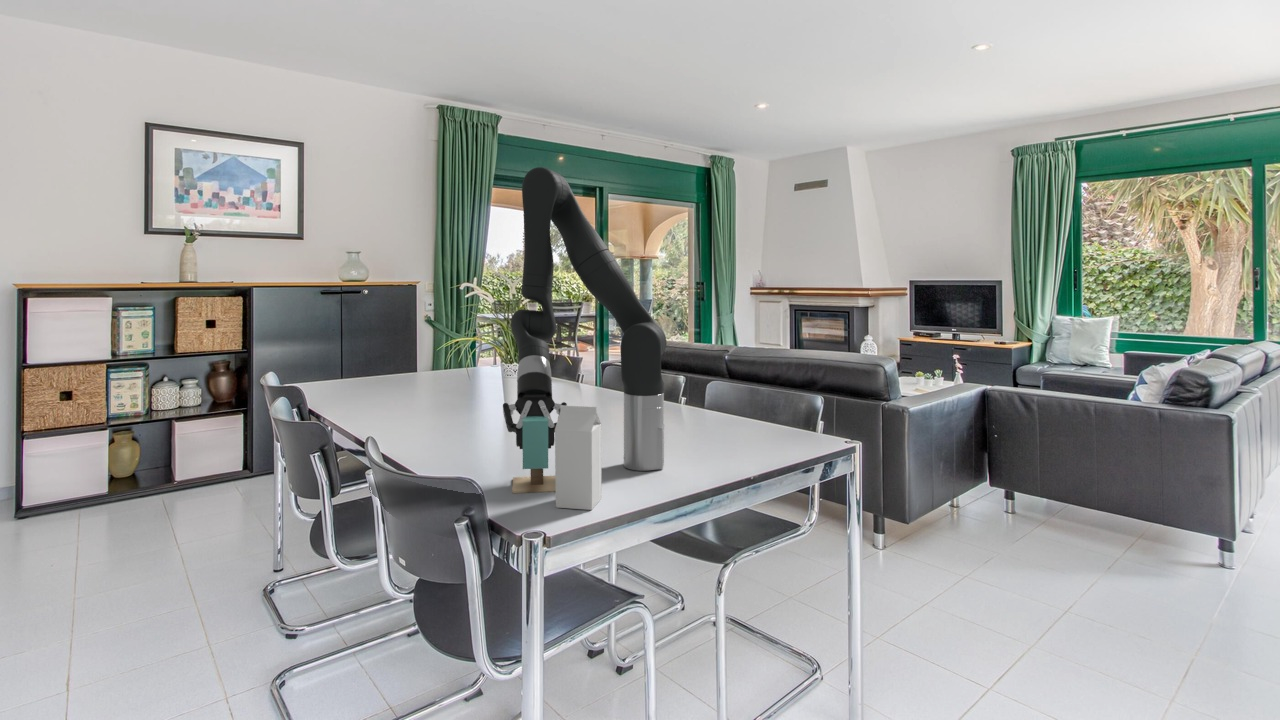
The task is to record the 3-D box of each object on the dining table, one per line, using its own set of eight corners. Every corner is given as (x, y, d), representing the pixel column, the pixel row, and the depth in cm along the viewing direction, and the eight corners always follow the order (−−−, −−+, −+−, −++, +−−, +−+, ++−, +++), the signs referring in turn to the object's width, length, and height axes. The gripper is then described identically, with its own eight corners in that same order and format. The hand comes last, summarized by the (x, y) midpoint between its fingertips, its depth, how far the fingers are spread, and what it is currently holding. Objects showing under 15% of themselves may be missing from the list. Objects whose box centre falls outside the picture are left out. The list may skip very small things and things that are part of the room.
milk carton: (591, 510, 124) (591, 410, 122) (555, 508, 126) (554, 408, 124) (601, 499, 131) (601, 403, 129) (567, 496, 133) (566, 402, 130)
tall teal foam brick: (547, 461, 143) (547, 415, 142) (548, 468, 138) (548, 420, 137) (522, 462, 142) (522, 416, 141) (522, 469, 137) (522, 421, 136)
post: (559, 477, 146) (559, 439, 145) (562, 490, 136) (561, 450, 135) (513, 479, 144) (512, 441, 143) (512, 493, 134) (511, 452, 134)
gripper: (500, 370, 144) (499, 438, 133) (567, 370, 146) (571, 436, 136) (501, 391, 150) (500, 457, 139) (566, 390, 152) (569, 455, 142)
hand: (535, 446), depth 138 cm, fingers closed on tall teal foam brick, 5 cm apart
